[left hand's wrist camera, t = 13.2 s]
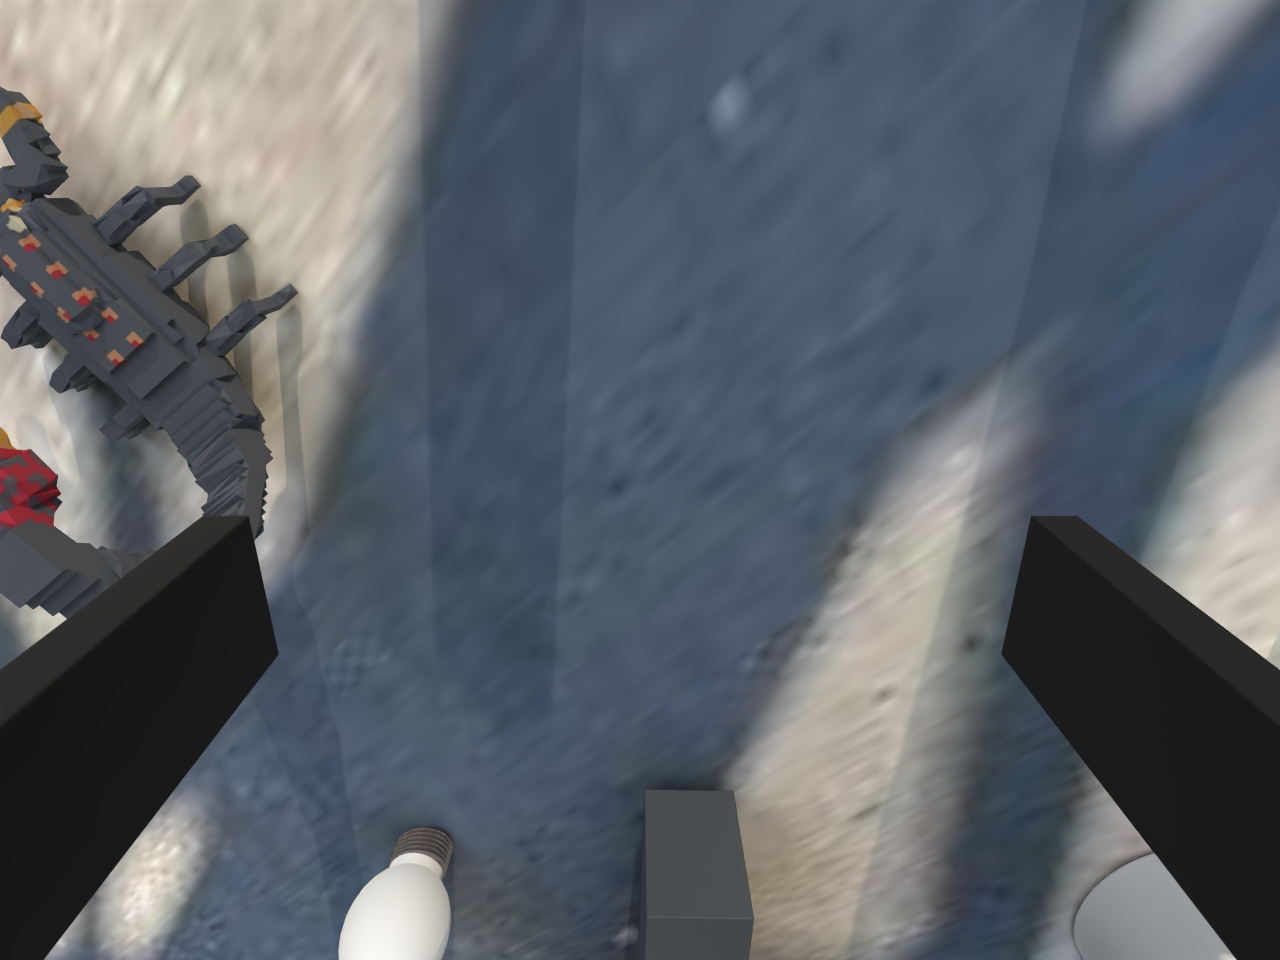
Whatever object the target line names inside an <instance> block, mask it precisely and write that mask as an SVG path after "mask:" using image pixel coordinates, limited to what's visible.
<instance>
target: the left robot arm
mask: <svg viewBox="0 0 1280 960" xmlns="http://www.w3.org/2000/svg"><path fill="white" fill-rule="evenodd" d="M277 656H278V649H277V645H276V640H275V635H274V631H273V626H272V622H271V617H270V612H269V608H268V603H267V598H266V594H265V589H264V584H263V580H262V575H261V570H260V566H259V561H258V556H257V552H256V547H255V543H254V538H253V533H252V529H251V524H250V519H249V516H202V517H201V518H200V519H198V520H197V521H196V522H195V523H193V524H192V525H191V526H189V527H188V528H187V529H185V530H184V531H183V532H181V533H180V534H179V535H177V536H176V537H175V538H173V539H172V540H171V541H170V542H168V543H167V544H166V545H164V546H163V547H162V548H160V549H159V550H158V551H156V552H155V553H154V554H152V555H151V556H150V557H148V558H147V559H146V560H144V561H143V562H142V563H141V564H139V565H138V566H137V567H135V568H134V569H133V570H131V571H130V572H129V573H127V574H126V575H125V576H123V577H122V578H121V579H119V580H118V581H117V582H116V583H114V584H113V585H112V586H110V587H109V588H108V589H106V590H105V591H104V592H102V593H101V594H100V595H98V596H97V597H96V598H94V599H93V600H92V601H90V602H89V603H88V604H87V605H85V606H84V607H83V608H81V609H80V610H79V611H77V612H76V613H75V614H73V615H72V616H71V617H69V618H68V619H67V620H65V621H64V622H63V623H62V624H60V625H59V626H58V627H56V628H55V629H54V630H52V631H51V632H50V633H48V634H47V635H46V636H44V637H43V638H42V639H40V640H39V641H38V642H36V643H35V644H34V645H33V646H31V647H30V648H29V649H27V650H26V651H25V652H23V653H22V654H21V655H19V656H18V657H17V658H15V659H14V660H13V661H11V662H10V663H9V664H7V665H6V666H5V667H4V668H2V669H1V670H0V960H44V959H45V957H46V956H47V955H48V953H49V952H50V951H51V949H52V948H53V947H54V946H55V944H56V943H57V942H58V940H59V939H60V938H61V936H62V935H63V934H64V933H65V931H66V930H67V929H68V927H69V926H70V925H71V923H72V922H73V921H74V920H75V918H76V917H77V916H78V914H79V913H80V912H81V910H82V909H83V908H84V907H85V905H86V904H87V903H88V901H89V900H90V899H91V897H92V896H93V895H94V894H95V892H96V891H97V890H98V888H99V887H100V886H101V884H102V883H103V882H104V881H105V879H106V878H107V877H108V875H109V874H110V873H111V871H112V870H113V869H114V868H115V866H116V865H117V864H118V862H119V861H120V860H121V858H122V857H123V856H124V855H125V853H126V852H127V851H128V849H129V848H130V847H131V845H132V844H133V843H134V842H135V840H136V839H137V838H138V836H139V835H140V834H141V832H142V831H143V830H144V829H145V827H146V826H147V825H148V823H149V822H150V821H151V819H152V818H153V817H154V816H155V814H156V813H157V812H158V810H159V809H160V808H161V806H162V805H163V804H164V803H165V801H166V800H167V799H168V797H169V796H170V795H171V793H172V792H173V791H174V790H175V788H176V787H177V786H178V784H179V783H180V782H181V780H182V779H183V778H184V777H185V775H186V774H187V773H188V771H189V770H190V769H191V767H192V766H193V765H194V764H195V762H196V761H197V760H198V758H199V757H200V756H201V754H202V753H203V752H204V751H205V749H206V748H207V747H208V745H209V744H210V743H211V741H212V740H213V739H214V738H215V736H216V735H217V734H218V732H219V731H220V730H221V728H222V727H223V726H224V725H225V723H226V722H227V721H228V719H229V718H230V717H231V715H232V714H233V713H234V712H235V710H236V709H237V708H238V706H239V705H240V704H241V702H242V701H243V700H244V699H245V697H246V696H247V695H248V693H249V692H250V691H251V689H252V688H253V687H254V686H255V684H256V683H257V682H258V680H259V679H260V678H261V676H262V675H263V674H264V673H265V671H266V670H267V669H268V667H269V666H270V665H271V663H272V662H273V661H274V660H275V658H276V657H277ZM1002 656H1003V657H1004V658H1005V660H1006V661H1007V662H1008V663H1009V665H1010V666H1011V667H1012V669H1013V670H1014V671H1015V673H1016V674H1017V675H1018V676H1019V678H1020V679H1021V680H1022V682H1023V683H1024V684H1025V686H1026V687H1027V688H1028V689H1029V691H1030V692H1031V693H1032V695H1033V696H1034V697H1035V699H1036V700H1037V701H1038V702H1039V704H1040V705H1041V706H1042V708H1043V709H1044V710H1045V712H1046V713H1047V714H1048V715H1049V717H1050V718H1051V719H1052V721H1053V722H1054V723H1055V725H1056V726H1057V727H1058V728H1059V730H1060V731H1061V732H1062V734H1063V735H1064V736H1065V738H1066V739H1067V740H1068V741H1069V743H1070V744H1071V745H1072V747H1073V748H1074V749H1075V751H1076V752H1077V753H1078V754H1079V756H1080V757H1081V758H1082V760H1083V761H1084V762H1085V764H1086V765H1087V766H1088V767H1089V769H1090V770H1091V771H1092V773H1093V774H1094V775H1095V777H1096V778H1097V779H1098V780H1099V782H1100V783H1101V784H1102V786H1103V787H1104V788H1105V790H1106V791H1107V792H1108V793H1109V795H1110V796H1111V797H1112V799H1113V800H1114V801H1115V803H1116V804H1117V805H1118V806H1119V808H1120V809H1121V810H1122V812H1123V813H1124V814H1125V816H1126V817H1127V818H1128V819H1129V821H1130V822H1131V823H1132V825H1133V826H1134V827H1135V829H1136V830H1137V831H1138V832H1139V834H1140V835H1141V836H1142V838H1143V839H1144V840H1145V842H1146V843H1147V844H1148V845H1149V847H1150V848H1151V849H1152V851H1153V852H1154V853H1155V855H1156V856H1157V857H1158V858H1159V860H1160V861H1161V862H1162V864H1163V865H1164V866H1165V868H1166V869H1167V870H1168V871H1169V873H1170V874H1171V875H1172V877H1173V878H1174V879H1175V881H1176V882H1177V883H1178V884H1179V886H1180V887H1181V888H1182V890H1183V891H1184V892H1185V894H1186V895H1187V896H1188V897H1189V899H1190V900H1191V901H1192V903H1193V904H1194V905H1195V907H1196V908H1197V909H1198V910H1199V912H1200V913H1201V914H1202V916H1203V917H1204V918H1205V920H1206V921H1207V922H1208V923H1209V925H1210V926H1211V927H1212V929H1213V930H1214V931H1215V933H1216V934H1217V935H1218V936H1219V938H1220V939H1221V940H1222V942H1223V943H1224V944H1225V946H1226V947H1227V948H1228V949H1229V951H1230V952H1231V953H1232V955H1233V956H1234V957H1235V959H1236V960H1280V670H1279V669H1278V668H1276V667H1275V666H1274V665H1272V664H1271V663H1270V662H1269V661H1267V660H1266V659H1265V658H1263V657H1262V656H1261V655H1259V654H1258V653H1257V652H1255V651H1254V650H1253V649H1251V648H1250V647H1249V646H1247V645H1246V644H1245V643H1244V642H1242V641H1241V640H1240V639H1238V638H1237V637H1236V636H1234V635H1233V634H1232V633H1230V632H1229V631H1228V630H1226V629H1225V628H1224V627H1222V626H1221V625H1220V624H1218V623H1217V622H1216V621H1215V620H1213V619H1212V618H1211V617H1209V616H1208V615H1207V614H1205V613H1204V612H1203V611H1201V610H1200V609H1199V608H1197V607H1196V606H1195V605H1193V604H1192V603H1191V602H1190V601H1188V600H1187V599H1186V598H1184V597H1183V596H1182V595H1180V594H1179V593H1178V592H1176V591H1175V590H1174V589H1172V588H1171V587H1170V586H1168V585H1167V584H1166V583H1164V582H1163V581H1162V580H1161V579H1159V578H1158V577H1157V576H1155V575H1154V574H1153V573H1151V572H1150V571H1149V570H1147V569H1146V568H1145V567H1143V566H1142V565H1141V564H1139V563H1138V562H1137V561H1136V560H1134V559H1133V558H1132V557H1130V556H1129V555H1128V554H1126V553H1125V552H1124V551H1122V550H1121V549H1120V548H1118V547H1117V546H1116V545H1114V544H1113V543H1112V542H1110V541H1109V540H1108V539H1107V538H1105V537H1104V536H1103V535H1101V534H1100V533H1099V532H1097V531H1096V530H1095V529H1093V528H1092V527H1091V526H1089V525H1088V524H1087V523H1085V522H1084V521H1083V520H1082V519H1080V518H1079V517H1078V516H1031V519H1030V524H1029V529H1028V533H1027V538H1026V543H1025V547H1024V552H1023V556H1022V561H1021V566H1020V570H1019V575H1018V580H1017V584H1016V589H1015V594H1014V598H1013V603H1012V608H1011V612H1010V617H1009V622H1008V626H1007V631H1006V635H1005V640H1004V645H1003V649H1002Z"/></svg>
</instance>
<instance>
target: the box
mask: <svg viewBox="0 0 1280 960" xmlns="http://www.w3.org/2000/svg"><path fill="white" fill-rule="evenodd" d="M753 921H754V917H753V911H752V904H751V898H750V892H749V886H748V879H747V873H746V867H745V861H744V854H743V848H742V842H741V836H740V829H739V823H738V817H737V811H736V804H735V798H734V792H733V791H703V790H652V789H645V795H644V818H643V840H642V863H641V886H640V909H639V932H638V955H637V960H749V952H750V945H751V937H752V929H753Z"/></svg>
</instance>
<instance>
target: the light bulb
mask: <svg viewBox="0 0 1280 960" xmlns="http://www.w3.org/2000/svg"><path fill="white" fill-rule="evenodd" d="M452 851H453V843H452V841H451V839H450V838H449V837H448V836H447V835H446V834H444V833H443V832H440V831H438V830H435V829H431V828H417V829H412V830H410V831H407V832H405V833H404V834H402V835H401V836H400V837H399V839H398V840H397V842H396V845H395V848H394V850H393V854H392V856H391V859H390V862H389V864H388V868H387V869H386V870H384V871H383V872H381V873H380V874H378V875H376V876H375V877H374V878H373V879H372V880H371V881H370V882H369V883H368V884H367V885H366V886H365V887H364V888H363V889H362V891H361V892H360V893H359V895H358V896H357V898H356V899H355V901H354V902H353V904H352V906H351V908H350V910H349V912H348V914H347V916H346V919H345V922H344V925H343V929H342V932H341V936H340V943H339V960H441V959H442V956H443V954H444V951H445V948H446V945H447V942H448V938H449V932H450V925H451V909H450V903H449V898H448V894H447V892H446V889H445V887H444V885H443V883H442V881H441V880H442V879H443V878H444V876H445V875H446V872H447V868H448V865H449V861H450V857H451V854H452Z"/></svg>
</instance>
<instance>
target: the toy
mask: <svg viewBox="0 0 1280 960" xmlns="http://www.w3.org/2000/svg"><path fill="white" fill-rule="evenodd" d="M41 117H42V115H41V113H40V112H39V111H38V110H37V109H36V108H35V107H34V106H33V105H32V104H31V103H30V102H29V101H28V100H27V99H26V98H25V97H24V96H23V95H22V93H19V92H12V91H7V90H5V89H3V88H2V87H0V136H1V138H2V140H3V142H4V144H5V146H6V148H7V150H8V152H9V154H10V156H11V158H12V159H13V161H14V162H15V164H16V165H12V166H4V167H2V168H1V169H0V277H1V276H2V275H3V276H4V278H6V279H7V280H8V281H9V282H10V285H11V286H12V287H13V288H14V289H15V290H16V291H17V292H19V293H20V294H21V295H22V296H23V297H24V298H25V299H26V301H25V302H24V303H23V304H22V305H21V306H20V307H19V308H18V310H17V311H16V312H15V314H14V315H13V316H12V318H11V319H10V320H9V322H8V323H7V325H6V326H5V327H4V329H3V332H2V335H1V338H2V339H3V340H4V341H6V342H7V343H8V344H9V346H10V348H11V349H14V348H18V347H22V346H25V345H29V344H31V345H32V346H33V347H34V348H44V347H45V345H46V344H47V343H48V342H49V341H50V340H51V339H52V338H55V339H56V340H57V341H58V342H59V343H60V344H61V345H62V346H63V347H64V348H66V349H67V350H68V351H69V352H70V353H69V354H68V355H66V356H65V358H64V362H63V363H62V364H61V365H60V366H59V367H58V368H57V369H56V370H55V371H54V372H53V374H52V377H51V380H50V386H51V387H53V388H54V389H55V390H56V391H57V392H58V393H63V392H65V391H67V390H70V389H72V388H75V389H76V390H77V392H79V391H82V390H85V389H87V388H88V387H89V386H90V385H92V384H93V383H94V382H95V381H96V380H97V379H98V378H99V379H100V380H101V381H102V382H103V383H105V384H107V385H108V386H110V387H111V388H112V389H113V390H114V391H115V392H116V393H117V394H118V395H119V396H120V397H121V398H123V399H124V400H125V401H126V402H127V404H126V405H125V406H124V407H123V408H122V409H121V410H120V411H119V412H117V413H116V414H115V415H114V416H113V417H112V418H111V419H110V420H109V421H108V422H107V423H106V424H105V425H104V426H103V427H102V428H101V429H100V431H101V432H102V433H103V434H104V435H106V436H107V437H108V438H109V439H110V440H111V441H112V442H115V441H116V440H118V439H120V438H121V437H123V436H126V437H127V438H128V439H131V438H133V437H135V436H137V435H138V434H140V433H141V432H142V431H143V430H144V429H145V428H146V427H147V426H149V425H150V424H149V423H148V422H147V421H146V420H145V419H144V417H145V418H146V419H147V420H148V421H149V422H150V423H151V424H152V425H153V427H154V428H155V429H156V430H159V429H165V430H166V431H167V432H168V434H169V435H170V437H171V438H172V439H171V441H172V442H173V443H174V444H175V445H176V446H177V447H178V450H177V451H178V452H179V453H180V454H181V455H182V456H183V457H184V458H185V459H186V460H187V463H188V467H189V469H190V470H191V471H192V473H193V474H194V477H195V478H196V479H197V480H196V481H195V482H196V483H197V484H198V485H199V486H200V487H201V488H203V489H204V490H205V492H207V493H208V499H207V503H206V504H205V505H203V506H202V507H201V509H202V510H203V511H204V513H203V514H202V515H203V516H249V519H250V524H251V529H252V533H253V538H254V541H255V539H256V538H257V537H258V536H259V535H260V534H261V533H262V532H263V531H264V527H263V523H264V522H265V521H264V520H263V519H262V515H263V514H264V513H265V512H266V511H264V510H263V509H262V508H261V507H263V506H264V505H265V504H266V503H267V502H266V501H265V500H264V499H263V498H264V497H265V496H266V495H267V494H268V493H267V492H266V491H265V490H264V489H265V488H266V479H267V478H268V475H267V472H266V466H265V465H266V464H267V463H269V462H270V461H271V460H272V459H273V457H272V456H271V455H270V453H272V452H271V451H270V450H269V449H268V448H267V447H266V446H265V445H264V443H265V442H266V441H265V440H264V439H263V438H262V437H264V434H263V432H262V431H261V424H262V423H263V422H264V421H265V419H264V418H263V416H262V414H261V412H260V410H259V409H258V408H257V406H256V405H255V404H254V402H253V401H252V399H251V398H250V396H249V395H248V393H247V392H246V390H245V389H244V388H243V386H242V384H241V381H240V380H241V379H240V377H239V375H238V373H237V372H236V370H235V369H234V368H233V366H232V365H231V363H230V362H229V361H228V359H227V358H226V357H224V356H225V355H226V354H227V353H228V352H229V351H230V350H231V349H232V348H233V347H234V346H235V345H236V344H237V343H238V342H239V341H240V340H241V339H242V338H243V337H244V336H245V335H246V334H247V333H248V332H249V331H251V330H252V329H253V328H255V327H256V326H257V325H258V324H260V323H261V322H262V321H264V320H265V319H266V318H267V317H266V316H265V315H267V314H269V313H271V312H274V311H277V310H279V309H281V308H282V307H283V306H284V305H285V304H286V303H287V302H289V301H290V300H291V299H292V298H293V297H294V296H295V295H296V294H298V292H297V291H296V290H295V289H294V288H293V287H292V286H291V284H289V285H288V286H286V287H285V288H283V289H281V290H280V291H278V292H277V293H275V294H274V295H273V296H271V297H268V298H265V299H262V300H259V301H256V302H252V301H251V300H250V299H249V300H246V301H244V302H242V303H241V304H240V305H239V306H238V307H237V308H236V309H235V310H234V311H233V312H232V313H231V314H230V315H229V316H225V317H224V318H223V319H222V320H221V321H220V322H219V323H218V324H217V325H216V326H215V327H214V328H213V329H212V330H211V331H210V332H209V333H208V331H209V327H210V326H209V325H208V324H207V323H206V322H205V321H204V319H203V318H202V317H201V316H200V315H199V314H198V313H197V312H196V311H195V309H194V308H193V307H192V306H191V305H190V304H189V303H187V302H185V301H182V300H181V298H180V297H179V296H178V294H177V293H176V292H175V290H174V289H173V288H172V287H174V286H176V285H178V284H179V283H181V282H182V281H183V280H184V279H185V278H187V277H188V276H189V275H190V274H191V273H193V272H194V271H195V270H196V269H197V268H199V267H200V266H201V265H202V264H203V263H205V262H206V261H207V260H208V259H209V258H211V257H219V256H226V255H228V254H231V253H233V252H235V251H236V250H237V249H238V248H239V247H240V246H241V245H242V244H243V243H244V242H245V241H246V240H248V239H249V238H248V237H247V236H246V235H245V234H244V233H243V231H242V230H241V229H240V228H239V227H238V226H237V225H236V224H233V225H229V226H228V227H227V228H225V229H224V230H223V231H222V232H220V233H219V234H218V235H216V236H215V237H212V238H210V239H208V240H201V241H195V242H192V243H189V244H186V245H184V246H183V247H182V248H181V249H180V250H179V251H178V252H177V253H175V254H174V255H173V256H172V257H171V258H170V259H169V260H168V261H167V262H166V263H165V264H164V265H162V266H161V267H160V268H159V269H158V270H156V269H155V268H154V267H153V266H152V264H151V263H150V262H149V261H148V260H147V259H146V258H145V257H144V256H143V255H142V254H141V253H140V252H139V251H130V252H128V251H127V250H126V249H125V248H124V247H123V245H122V243H123V242H124V241H125V240H126V238H127V237H128V236H129V235H130V234H131V233H132V232H133V231H134V230H135V229H136V228H137V227H138V226H140V225H141V224H143V223H144V222H145V221H146V220H148V219H149V218H150V217H151V216H152V215H154V214H155V213H156V212H157V211H158V210H160V209H161V208H162V207H164V206H167V205H177V204H183V203H184V202H185V201H186V200H187V199H188V198H189V197H190V196H191V195H192V194H193V193H194V192H195V191H196V190H197V189H198V188H199V187H200V186H201V185H200V184H199V183H198V182H197V181H196V180H195V178H194V177H193V176H185V177H183V178H182V179H181V180H180V181H179V182H177V183H176V184H175V185H173V186H171V187H158V188H143V187H139V186H136V187H134V188H133V189H132V190H131V191H130V192H128V193H127V194H126V195H125V196H124V197H123V198H121V199H120V200H119V201H118V202H117V203H116V204H115V205H114V206H113V207H111V208H110V209H109V210H108V211H107V212H106V213H105V214H104V215H103V216H102V217H100V218H99V219H98V220H97V219H96V218H95V217H94V216H93V215H88V214H87V213H86V212H85V211H84V210H83V209H82V208H81V207H80V206H79V204H78V203H76V202H74V201H73V200H71V199H69V198H46V197H45V196H44V194H45V195H51V194H52V193H53V192H54V191H55V190H56V189H57V188H58V187H59V186H60V185H61V184H62V183H63V182H64V181H65V180H66V179H67V178H68V177H69V176H68V174H67V173H66V170H67V168H68V167H67V166H65V165H64V164H63V163H61V161H60V159H59V158H58V157H57V156H58V155H59V154H60V153H61V151H60V150H59V149H58V147H57V146H56V145H55V144H54V143H53V141H52V140H51V139H50V138H49V136H50V135H51V134H50V133H49V132H47V131H46V130H45V128H44V126H43V124H42V122H41V121H40V120H39V119H40V118H41ZM57 479H58V475H57V474H55V473H54V472H53V471H52V470H51V469H50V468H49V467H48V466H47V465H46V464H45V463H44V462H43V461H42V460H41V459H40V458H39V457H38V456H37V455H36V454H35V453H34V452H33V451H32V450H31V449H29V450H16V449H15V448H14V447H13V446H12V445H11V443H10V441H9V438H8V435H7V433H6V432H5V431H4V430H3V429H2V428H1V427H0V593H1V594H3V595H4V596H5V597H6V598H8V599H9V600H10V601H11V602H13V603H14V604H15V605H16V606H17V607H19V608H21V607H22V606H24V605H25V604H27V605H28V606H29V607H31V608H32V609H35V608H36V607H37V606H39V605H40V606H41V607H42V608H43V609H45V610H46V611H47V612H48V613H49V614H51V615H52V616H54V615H56V614H57V613H58V612H59V613H61V614H62V615H63V616H64V617H65V618H67V619H68V618H69V617H71V616H72V615H73V614H75V613H76V612H77V611H79V610H80V609H81V608H83V607H84V606H85V605H87V604H88V603H89V602H90V601H92V600H93V599H94V598H96V597H97V596H98V595H100V594H101V593H102V592H104V591H105V590H106V589H108V588H109V587H110V586H112V585H113V584H114V583H116V582H117V581H118V580H119V579H121V578H122V577H123V576H125V575H126V574H127V573H129V572H130V571H131V570H133V569H134V568H135V567H137V566H138V565H139V564H141V563H142V562H143V561H144V560H146V559H147V558H148V557H150V556H151V555H152V554H154V553H155V551H153V550H151V551H150V552H148V553H147V554H146V555H144V556H142V555H140V554H139V553H137V552H135V553H133V554H130V553H128V552H127V551H126V550H124V551H116V550H111V549H107V548H105V547H103V546H101V547H100V548H98V549H96V548H94V547H93V546H92V545H91V544H90V543H76V542H75V541H74V540H72V539H71V538H70V537H68V536H67V535H65V534H64V533H63V532H61V531H60V530H59V529H57V528H56V527H55V526H53V525H54V513H55V511H56V510H57V509H58V507H59V506H60V505H61V503H62V501H61V500H59V499H58V498H57V497H58V496H59V495H60V494H61V493H60V491H59V490H58V488H57V487H56V486H57Z"/></svg>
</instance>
